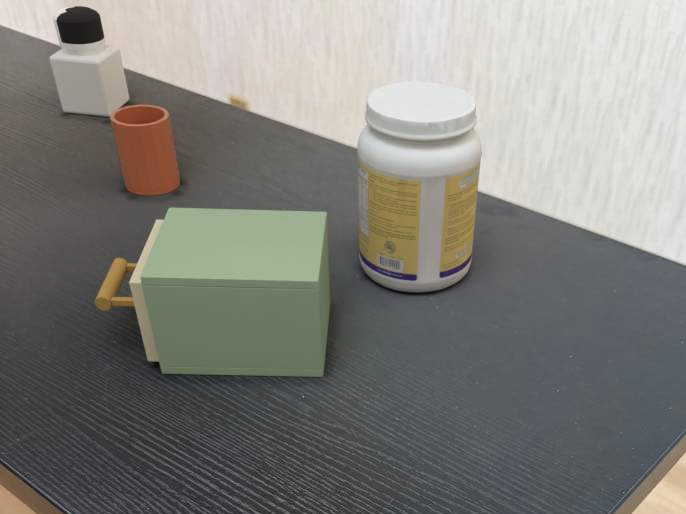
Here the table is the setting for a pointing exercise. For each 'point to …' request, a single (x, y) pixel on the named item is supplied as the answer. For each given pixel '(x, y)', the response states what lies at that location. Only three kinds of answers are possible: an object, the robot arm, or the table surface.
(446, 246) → the supplement tub
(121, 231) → the table surface
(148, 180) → the cup
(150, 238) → the drawer
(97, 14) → the medicine bottle
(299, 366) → the cabinet
